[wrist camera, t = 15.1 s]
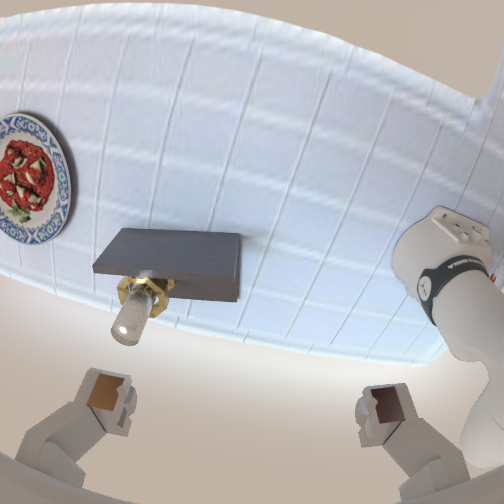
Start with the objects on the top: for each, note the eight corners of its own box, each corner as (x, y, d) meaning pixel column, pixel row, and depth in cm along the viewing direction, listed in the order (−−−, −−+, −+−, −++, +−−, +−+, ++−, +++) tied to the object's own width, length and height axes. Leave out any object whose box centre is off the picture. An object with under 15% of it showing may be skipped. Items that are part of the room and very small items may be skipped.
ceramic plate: (3, 90, 37) (-7, 92, 34) (98, 154, 44) (90, 158, 42) (-25, 199, 47) (-33, 204, 45) (54, 262, 55) (47, 270, 52)
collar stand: (239, 233, 50) (234, 275, 40) (237, 298, 57) (232, 346, 46) (122, 228, 50) (92, 265, 40) (132, 290, 57) (110, 333, 46)
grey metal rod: (167, 257, 52) (136, 325, 37) (169, 278, 54) (142, 348, 39) (144, 255, 51) (107, 321, 37) (146, 276, 54) (113, 344, 39)
